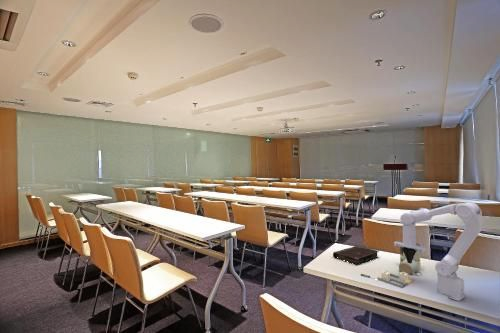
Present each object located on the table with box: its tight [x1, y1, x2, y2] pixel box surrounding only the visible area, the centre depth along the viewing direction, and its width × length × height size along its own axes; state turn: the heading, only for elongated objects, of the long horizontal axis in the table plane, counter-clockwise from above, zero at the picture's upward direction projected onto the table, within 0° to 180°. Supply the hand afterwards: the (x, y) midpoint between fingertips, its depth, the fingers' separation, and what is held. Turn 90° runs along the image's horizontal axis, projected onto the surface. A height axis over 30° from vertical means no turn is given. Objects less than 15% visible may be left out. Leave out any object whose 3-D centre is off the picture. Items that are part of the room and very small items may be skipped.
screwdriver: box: [360, 273, 379, 281], centre depth 136 cm, size 10×2×2 cm, turn 45°
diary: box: [332, 245, 380, 266], centre depth 171 cm, size 19×25×5 cm
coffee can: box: [399, 241, 422, 272], centre depth 152 cm, size 10×10×14 cm
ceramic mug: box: [398, 259, 424, 277], centre depth 143 cm, size 11×8×8 cm
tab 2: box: [398, 272, 409, 281], centre depth 131 cm, size 3×3×5 cm
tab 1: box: [380, 270, 391, 281], centre depth 133 cm, size 3×3×5 cm
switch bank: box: [377, 272, 413, 289], centre depth 132 cm, size 12×11×2 cm
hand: (409, 262), depth 133 cm, fingers closed
